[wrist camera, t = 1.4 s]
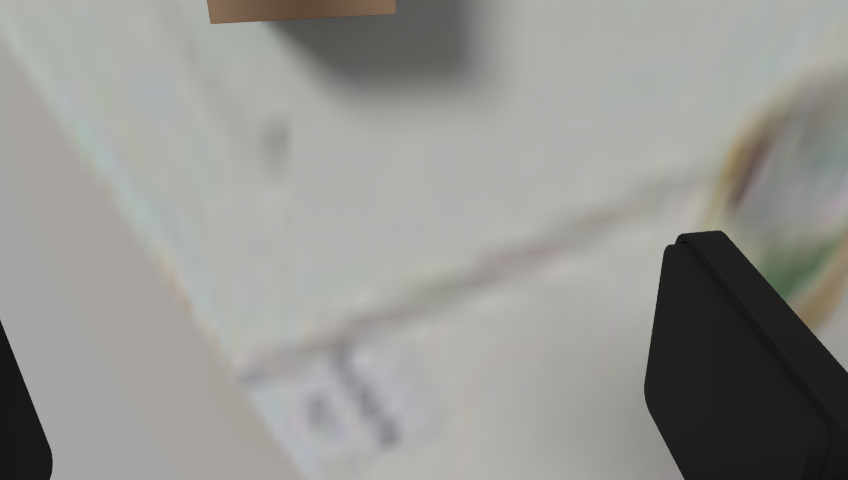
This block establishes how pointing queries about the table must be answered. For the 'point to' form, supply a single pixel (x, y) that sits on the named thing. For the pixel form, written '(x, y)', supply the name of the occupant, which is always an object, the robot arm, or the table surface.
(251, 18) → the walnut block
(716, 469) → the robot arm
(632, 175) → the table surface
